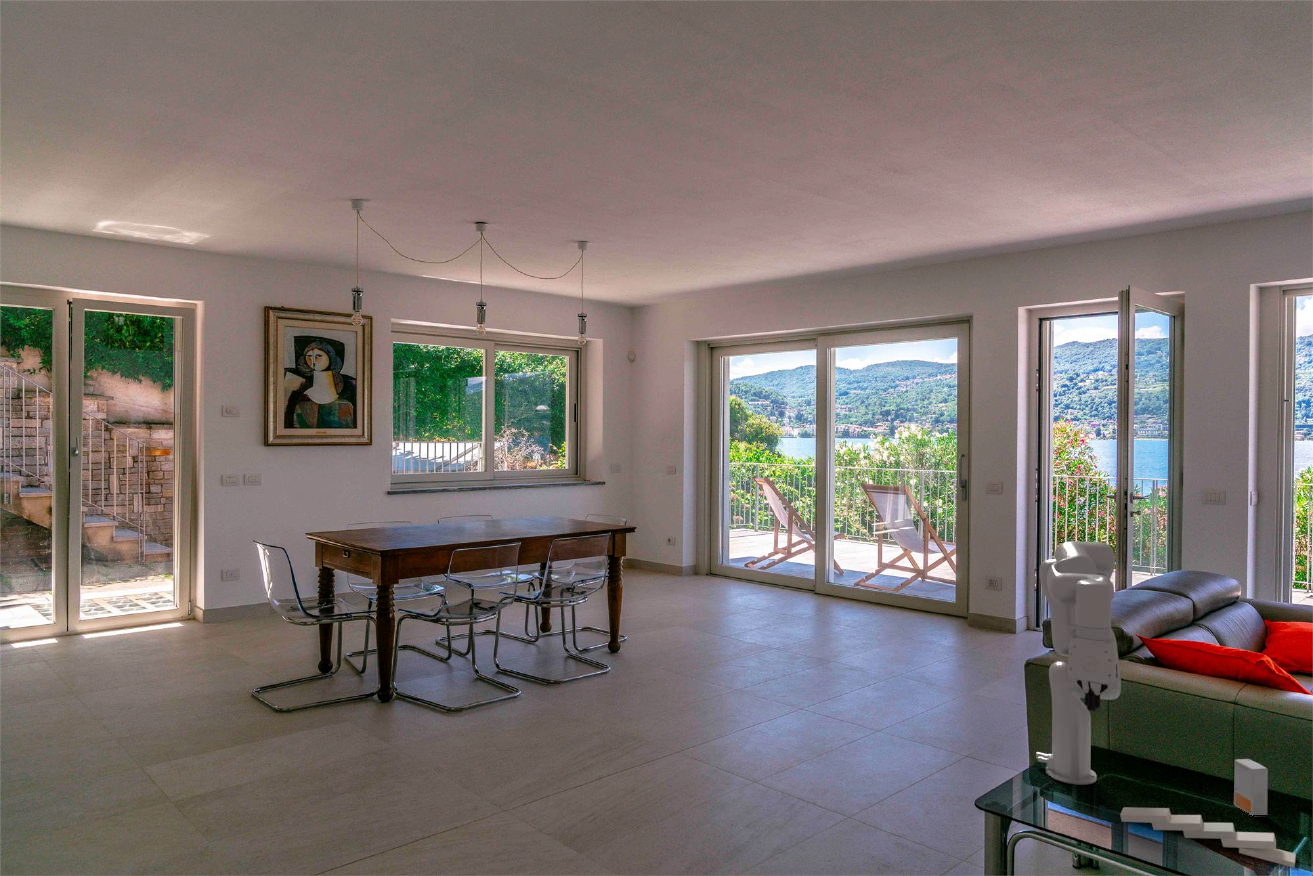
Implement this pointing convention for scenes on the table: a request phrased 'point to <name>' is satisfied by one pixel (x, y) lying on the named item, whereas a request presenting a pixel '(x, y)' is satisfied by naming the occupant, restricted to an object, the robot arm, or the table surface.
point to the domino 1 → (1145, 815)
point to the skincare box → (1250, 787)
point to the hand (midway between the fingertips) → (1092, 709)
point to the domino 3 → (1212, 831)
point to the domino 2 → (1181, 823)
